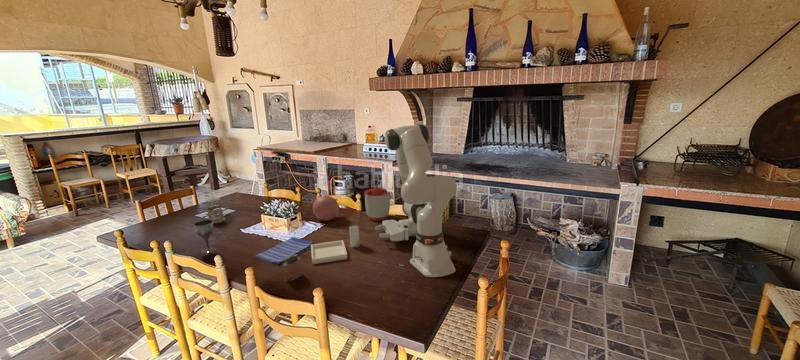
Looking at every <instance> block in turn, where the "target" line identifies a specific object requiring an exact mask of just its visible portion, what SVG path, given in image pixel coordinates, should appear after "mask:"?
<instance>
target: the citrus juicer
mask: <svg viewBox="0 0 800 360" xmlns="http://www.w3.org/2000/svg"><path fill="white" fill-rule="evenodd" d="M363 193H364V201H365V202H364V204H365V207H364V208H365V212H366V215H367V217H368V219H369V220H370V221H373V222H378V221H384V220H388V217H389V214H390V209H391V208H390V207H391V199H393V196H391V192H390V191H388V189H387V188H383V187H382V188H380V187H378V186H375V188H370V189H369V188H368V189H367V190H365V191H364V192H363Z"/></svg>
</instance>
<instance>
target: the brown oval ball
mask: <svg viewBox="0 0 800 360" xmlns="http://www.w3.org/2000/svg"><path fill="white" fill-rule="evenodd" d="M339 208H340V207H339V203H338V198H334V197H333V196H330V195H322V196H319V197H318V198H316V199H315V201H314V202H313V204H312V211H313V215H314V216H315V218H317V220H320V221H324V222H326V221H327V222H328V221H332V220H333V219H334V218H336V216H337V215H338V213H339V210H340V209H339Z"/></svg>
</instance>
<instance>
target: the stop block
mask: <svg viewBox="0 0 800 360" xmlns="http://www.w3.org/2000/svg"><path fill="white" fill-rule="evenodd" d="M348 229H349V239H350V241H349V243H350V247H351V249H354V248H360V233H359V226H358V225H357V224H356V225H350V226H349V228H348Z"/></svg>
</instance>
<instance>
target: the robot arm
mask: <svg viewBox="0 0 800 360" xmlns="http://www.w3.org/2000/svg"><path fill="white" fill-rule="evenodd" d="M429 140H430V132H429V129H428V127H427V126H426V125H425V124H421V123H418V124H413V125H411V124H410V125H404V126H399V127H395V128H390V129H389V130H386V131H385V133H384V144H385V146H386V148H387V149H389V151H395V156H396V158H395V159H396V163H397V164H396V165H397V169H398V173H399V176H400V181H401V188H400V196H401V198H402V200H403V201H402V205H401V208H402V211H403V212H402V213H404V215H405V216H407V217H408V218H407V219H399V220H398V221H397V220H395V219H385V220H381V221H382V222H381V224H379V225H376V226H375V230H376V231H379V230H384V231H385V233H384V232H379V238H387V239H390V241H391V242H400V241H401V242H402V241H409V240H410V239H409V238H410V236H413V235H415V237H416V238H415V239H416V240H415V242H414V244H413V247H412V258H410V259H409V263H410V264H411V265H412V266H413V267H414V268H416V270H417V271H419V273H421V274H422V275H423V276H424V277H426V278H439V277H444V276H450V275H452V274H454V273H455V272H456V267H455V266H454V263H453V261H452V259H451V256H452V251H451V250H448V245H447V244H446V243H445V240H444V233H443V229H442V228H443V216H444V211H445V209H446V207H447V205H448V203H449V202H450V201H451V199H452V198H453V197H455V196H456V193H457V189H458V186H457V185H458V184H457V182H456V180H455V179H454V177H452V176H451V175H450V176H449V175H435V176H427V174H426V172H428V171H429V170H430V169H431V168H432V166H433V158H432V157H433V156H432V154H431V152H430V151H431V150H430V149H429V146H428V142H429Z"/></svg>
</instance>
